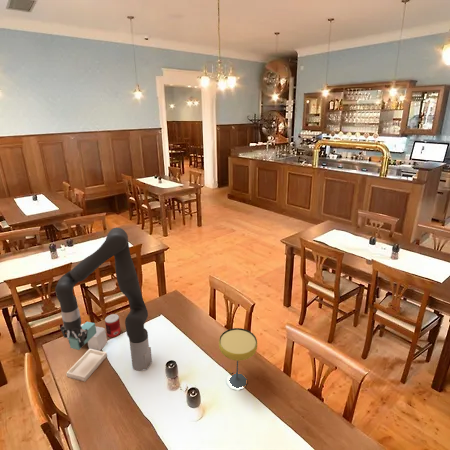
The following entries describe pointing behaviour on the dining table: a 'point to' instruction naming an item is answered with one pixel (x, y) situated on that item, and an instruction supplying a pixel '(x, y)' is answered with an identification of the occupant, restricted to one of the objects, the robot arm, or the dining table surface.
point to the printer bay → (98, 339)
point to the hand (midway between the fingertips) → (77, 345)
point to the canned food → (112, 325)
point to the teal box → (74, 342)
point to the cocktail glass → (238, 350)
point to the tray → (86, 365)
